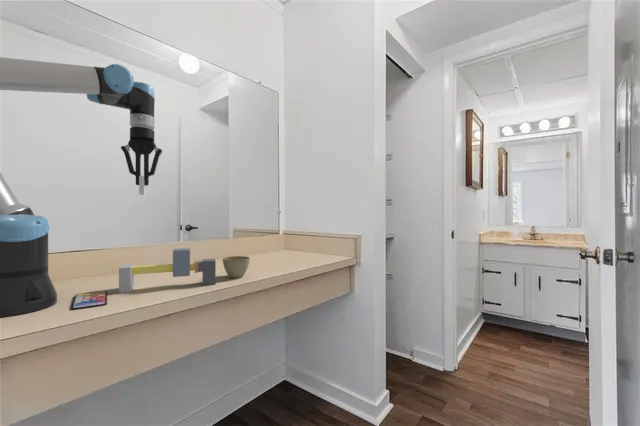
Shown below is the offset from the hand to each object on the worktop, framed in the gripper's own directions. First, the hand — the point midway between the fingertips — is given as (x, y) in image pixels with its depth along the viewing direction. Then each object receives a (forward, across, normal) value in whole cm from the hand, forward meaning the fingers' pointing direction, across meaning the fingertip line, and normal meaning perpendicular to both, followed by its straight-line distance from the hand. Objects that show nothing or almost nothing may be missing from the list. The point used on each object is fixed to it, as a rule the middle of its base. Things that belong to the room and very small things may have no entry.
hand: (142, 194), depth 107 cm
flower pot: (+31, +32, -7) cm, 45 cm away
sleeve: (+27, +13, -14) cm, 33 cm away
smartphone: (+31, -9, -23) cm, 40 cm away
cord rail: (+30, +10, -14) cm, 35 cm away
